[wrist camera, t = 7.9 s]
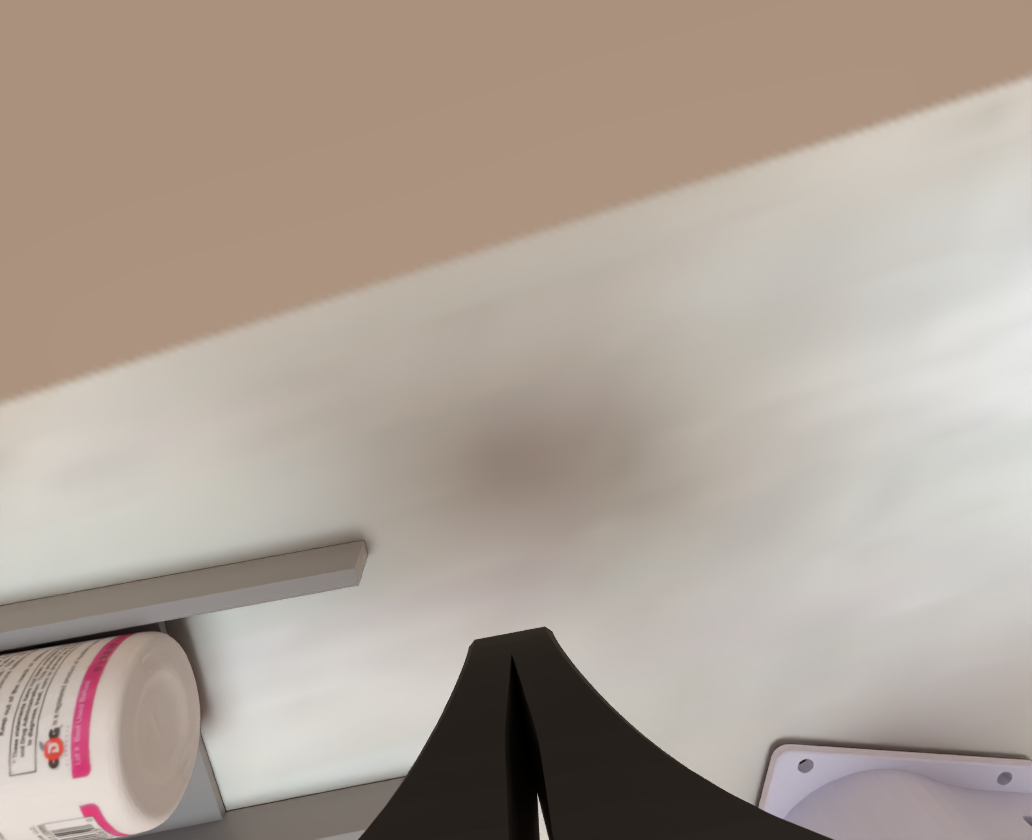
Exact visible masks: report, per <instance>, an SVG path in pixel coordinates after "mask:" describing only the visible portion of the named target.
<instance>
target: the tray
mask: <svg viewBox="0 0 1032 840" xmlns="http://www.w3.org/2000/svg"><path fill="white" fill-rule="evenodd" d="M367 557H368V555H367V551H366V546H365V542H364V540H361V541H356V542H350V543H345V544H339V545H334V546H328V547H323V548H317V549H312V550H306V551H301V552H295V553H290V554H284V555H279V556H273V557H268V558H262V559H257V560H251V561H246V562H240V563H235V564H229V565H224V566H218V567H212V568H207V569H201V570H196V571H190V572H185V573H179V574H174V575H168V576H163V577H157V578H152V579H146V580H141V581H135V582H130V583H124V584H119V585H113V586H108V587H102V588H97V589H91V590H86V591H80V592H75V593H69V594H64V595H58V596H53V597H47V598H41V599H36V600H30V601H25V602H19V603H14V604H8V605H3V606H0V655H3V654H9V653H15V652H21V651H27V650H34V649H40V648H46V647H52V646H58V645H64V644H71V643H77V642H83V641H88V640H95V639H101V638H107V637H113V636H120V635H126V634H131V633H138V632H148V631H154V632H162V633H164V634H167V635H168V632H167V629H166V626H165V623H164V621H167V620H172V619H178V618H183V617H189V616H194V615H200V614H205V613H211V612H216V611H221V610H227V609H232V608H238V607H243V606H249V605H254V604H260V603H265V602H270V601H276V600H281V599H287V598H292V597H298V596H303V595H309V594H314V593H319V592H325V591H330V590H336V589H341V588H347V587H352V586H358V585H359V583H360V580H361V577H362V573H363V570H364V567H365V563H366V560H367ZM404 778H405V777H402V778H397V779H392V780H387V781H382V782H377V783H371V784H366V785H361V786H356V787H351V788H346V789H341V790H335V791H330V792H325V793H320V794H315V795H310V796H305V797H299V798H294V799H289V800H284V801H279V802H274V803H269V804H263V805H258V806H253V807H248V808H243V809H238V810H233V811H227V812H225V808H224V805H223V802H222V799H221V796H220V793H219V790H218V787H217V784H216V781H215V778H214V774H213V771H212V768H211V765H210V762H209V759H208V756H207V753H206V750H205V747H204V744H203V740H202V737H201V734H200V735H199V744H198V751H197V756H196V760H195V764H194V768H193V771H192V774H191V777H190V780H189V782H188V785H187V787H186V790H185V792H184V794H183V797H182V798H181V800H180V802H179V804H178V806H177V807H176V809H175V810H174V812H173V813H172V814H171V815H170V816H169V818H168V819H167V820H166V821H164V822H163V823H162V824H160V825H159V826H157V827H155V828H153V829H151V830H148V831H145V832H141V833H137V834H133V835H129V836H124V837H117V838H111V839H105V840H358V839H359V838H360V836H361V835H362V834H363V833H364V832H365V831H366V829H367V828H368V827H369V826H370V824H371V823H372V822H373V821H374V819H375V818H376V817H377V816H378V814H379V813H380V812H381V811H382V809H383V808H384V807H385V805H386V804H387V803H388V801H389V800H390V799H391V797H392V796H393V794H394V793H395V791H396V790H397V789H398V787H399V786H400V784H401V783H402V781H403V780H404Z"/></svg>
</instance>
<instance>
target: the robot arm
mask: <svg viewBox="0 0 1032 840" xmlns="http://www.w3.org/2000/svg"><path fill="white" fill-rule="evenodd" d="M804 759H807V760H806V761H805V762H804V763H802V764H799V763H800V762H801V761H802V760H804ZM537 793H538V797H539V801H540V805H541V809H542V813H543V817H544V821H545V825H546V829H547V833H548V837H549V840H1032V761H1030V760H1021V759H1006V758H991V757H976V756H961V755H946V754H931V753H916V752H901V751H886V750H871V749H856V748H841V747H825V746H810V745H795V744H786V745H782V746H780V747H778V748H777V749H776V750H775V751H774V752H773V754H772V756H771V760H770V764H769V768H768V772H767V776H766V780H765V783H764V787H763V791H762V795H761V799H760V803H759V807H756V806H754V805H752V804H750V803H748V802H746V801H744V800H742V799H740V798H738V797H736V796H734V795H732V794H730V793H728V792H726V791H725V790H723V789H721V788H720V787H718V786H716V785H715V784H713V783H711V782H710V781H708V780H706V779H705V778H703V777H701V776H700V775H698V774H696V773H695V772H693V771H691V770H690V769H688V768H687V767H685V766H684V765H682V764H681V763H680V762H678V761H677V760H675V759H674V758H673V757H671V756H670V755H668V754H667V753H666V752H664V751H663V750H662V749H660V748H659V747H658V746H657V745H655V744H654V743H653V742H651V741H650V740H649V739H648V738H646V737H645V736H644V735H643V734H642V733H640V732H639V731H638V730H637V729H636V728H635V727H633V726H632V725H631V724H630V723H629V722H628V721H627V720H626V719H625V718H623V717H622V716H621V715H620V714H619V713H618V712H617V711H616V710H615V709H614V708H613V707H612V706H611V705H610V704H609V703H608V702H607V701H606V700H605V699H604V698H603V697H602V696H601V695H600V694H599V693H598V692H597V691H596V689H595V688H594V687H593V686H592V685H591V684H590V683H589V682H588V681H587V679H586V678H585V677H584V676H583V675H582V674H581V673H580V671H579V670H578V669H577V668H576V667H575V665H574V664H573V663H572V661H571V660H570V659H569V657H568V656H567V655H566V653H565V652H564V651H563V649H562V648H561V646H560V645H559V643H558V641H557V640H556V638H555V636H554V634H553V632H552V631H551V630H549V629H548V628H546V627H540V628H535V629H530V630H524V631H519V632H514V633H508V634H503V635H498V636H493V637H487V638H482V639H477V640H474V642H473V643H472V644H471V646H470V647H469V650H468V654H467V657H466V660H465V662H464V665H463V668H462V670H461V673H460V675H459V678H458V680H457V683H456V685H455V687H454V690H453V692H452V694H451V696H450V698H449V700H448V702H447V704H446V706H445V708H444V711H443V713H442V715H441V717H440V719H439V721H438V723H437V725H436V726H435V728H434V730H433V732H432V733H431V735H430V737H429V739H428V741H427V742H426V744H425V746H424V748H423V749H422V751H421V753H420V755H419V756H418V758H417V760H416V761H415V763H414V764H413V766H412V768H411V769H410V771H409V772H408V774H407V775H406V777H405V778H404V780H403V781H402V783H401V784H400V786H399V787H398V789H397V790H396V791H395V793H394V794H393V796H392V797H391V799H390V800H389V801H388V803H387V804H386V805H385V807H384V808H383V809H382V811H381V812H380V813H379V814H378V816H377V817H376V818H375V819H374V821H373V822H372V823H371V824H370V826H369V827H368V828H367V829H366V831H365V832H364V833H363V834H362V835H361V836H360V838H359V839H358V840H540V838H539V818H538V798H537Z"/></svg>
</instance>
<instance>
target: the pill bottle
mask: <svg viewBox="0 0 1032 840" xmlns="http://www.w3.org/2000/svg"><path fill="white" fill-rule="evenodd" d="M199 735H200V704H199V695H198V690H197V685H196V681H195V677H194V674H193V671H192V668H191V665H190V663H189V660H188V658H187V656H186V654H185V652H184V650H183V649H182V647H181V646H180V645H179V644H178V642H177V641H176V640H175V639H173V638H172V637H170V636H169V635H167V634H164V633H162V632H154V631H148V632H138V633H131V634H126V635H120V636H113V637H107V638H101V639H95V640H88V641H83V642H77V643H71V644H64V645H58V646H52V647H46V648H40V649H34V650H27V651H21V652H15V653H9V654H3V655H0V840H105V839H111V838H117V837H124V836H129V835H133V834H137V833H141V832H145V831H148V830H151V829H153V828H155V827H157V826H159V825H160V824H162V823H163V822H164V821H166V820H167V819H168V818H169V816H170V815H171V814H172V813H173V812H174V810H175V809H176V807H177V806H178V804H179V802H180V800H181V798H182V797H183V794H184V792H185V790H186V787H187V785H188V782H189V780H190V777H191V774H192V771H193V768H194V764H195V760H196V756H197V751H198V744H199Z"/></svg>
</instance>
